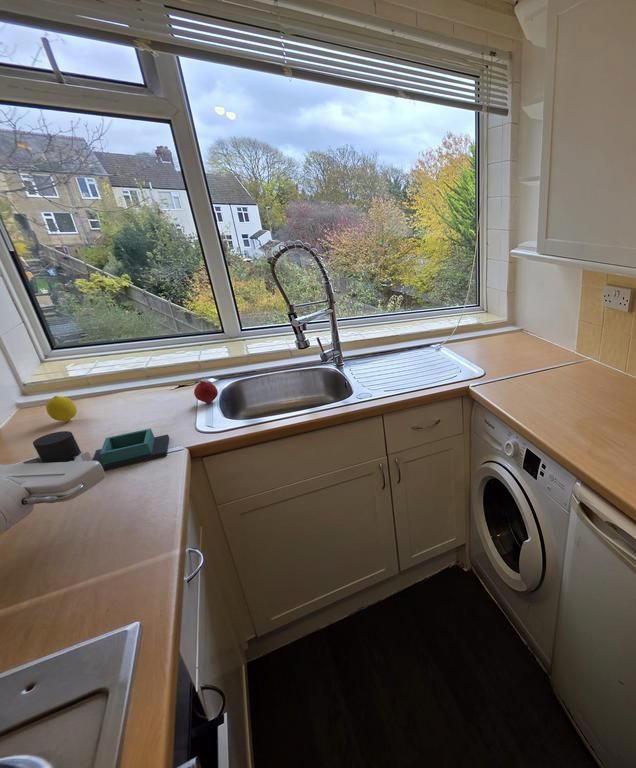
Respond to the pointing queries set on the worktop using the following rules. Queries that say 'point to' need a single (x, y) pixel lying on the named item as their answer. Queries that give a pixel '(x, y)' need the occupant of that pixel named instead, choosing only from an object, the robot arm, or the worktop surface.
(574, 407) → the worktop surface
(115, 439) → the base pad
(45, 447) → the pad post
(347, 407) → the worktop surface
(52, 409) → the lemon
